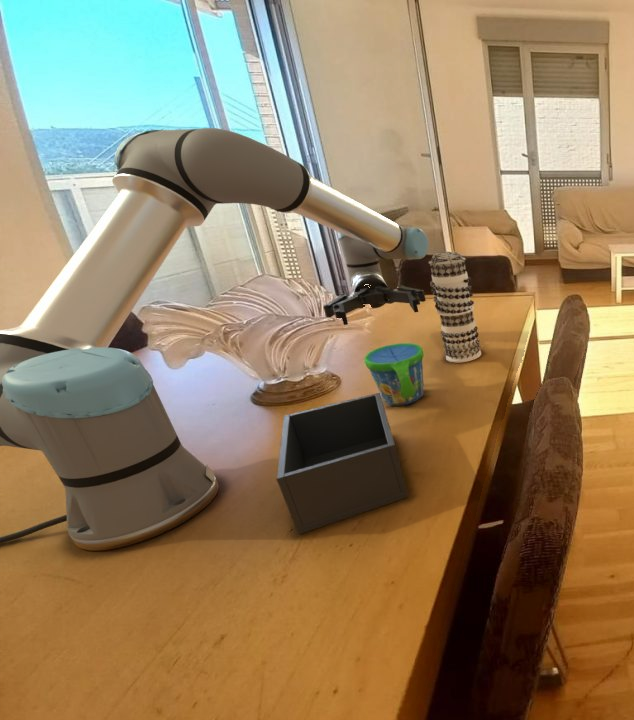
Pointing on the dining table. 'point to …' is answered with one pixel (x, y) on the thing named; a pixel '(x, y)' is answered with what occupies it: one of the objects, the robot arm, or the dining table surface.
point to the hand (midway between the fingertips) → (380, 312)
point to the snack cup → (397, 372)
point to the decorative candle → (454, 307)
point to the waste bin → (338, 462)
